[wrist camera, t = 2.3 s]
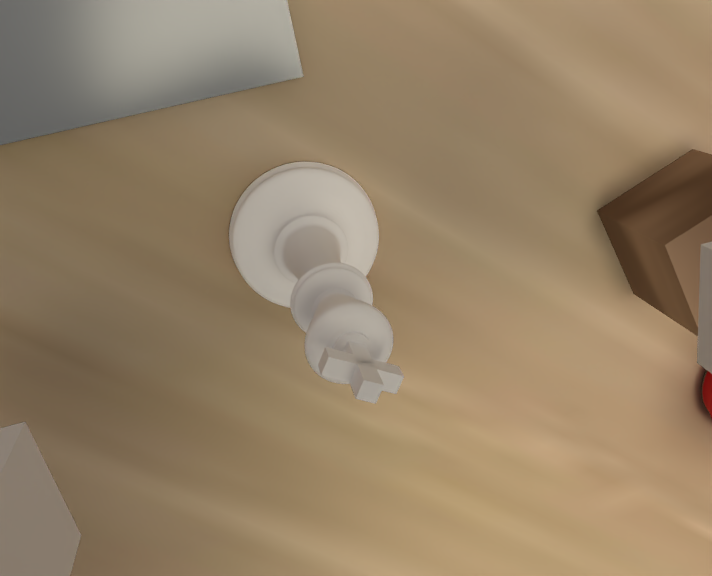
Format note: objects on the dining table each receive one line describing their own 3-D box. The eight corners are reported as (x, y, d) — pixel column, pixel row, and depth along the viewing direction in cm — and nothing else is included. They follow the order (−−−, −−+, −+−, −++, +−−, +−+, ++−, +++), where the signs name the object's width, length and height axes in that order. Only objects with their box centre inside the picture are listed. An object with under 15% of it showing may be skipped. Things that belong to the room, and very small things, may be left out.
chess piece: (346, 319, 23) (430, 512, 14) (209, 280, 22) (207, 470, 13) (399, 189, 22) (530, 314, 13) (257, 139, 20) (293, 239, 11)
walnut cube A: (632, 292, 26) (702, 339, 22) (596, 210, 24) (664, 245, 20) (721, 236, 25) (806, 273, 22) (691, 148, 24) (778, 173, 20)
